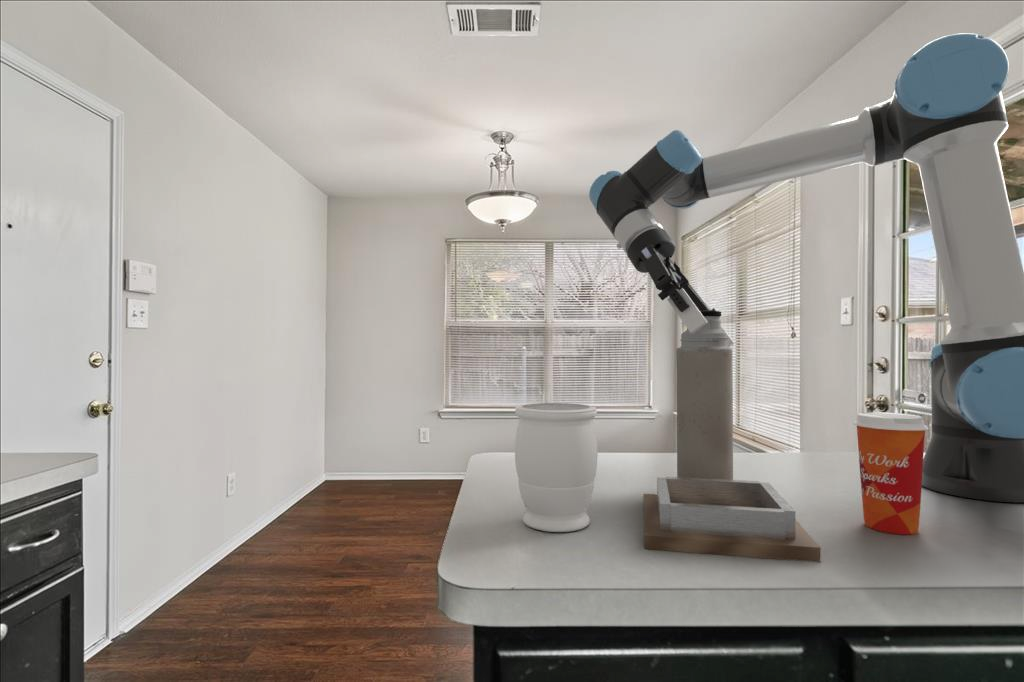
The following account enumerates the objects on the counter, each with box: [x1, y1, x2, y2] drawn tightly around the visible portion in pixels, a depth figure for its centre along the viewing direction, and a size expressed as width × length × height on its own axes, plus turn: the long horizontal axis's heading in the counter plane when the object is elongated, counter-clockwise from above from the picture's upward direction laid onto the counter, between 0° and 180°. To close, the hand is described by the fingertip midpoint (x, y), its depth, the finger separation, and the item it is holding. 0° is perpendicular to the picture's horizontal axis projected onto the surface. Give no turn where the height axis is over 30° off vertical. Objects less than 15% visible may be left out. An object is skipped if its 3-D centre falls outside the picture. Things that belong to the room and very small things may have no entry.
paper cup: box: [853, 411, 929, 536], centre depth 70 cm, size 8×8×14 cm
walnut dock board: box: [643, 493, 822, 563], centre depth 70 cm, size 18×18×2 cm
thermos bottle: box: [675, 310, 734, 480], centre depth 84 cm, size 8×8×28 cm
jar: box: [514, 402, 599, 533], centre depth 72 cm, size 11×10×15 cm
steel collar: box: [656, 476, 797, 540], centre depth 70 cm, size 14×14×3 cm
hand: (714, 338), depth 85 cm, fingers open, 13 cm apart
